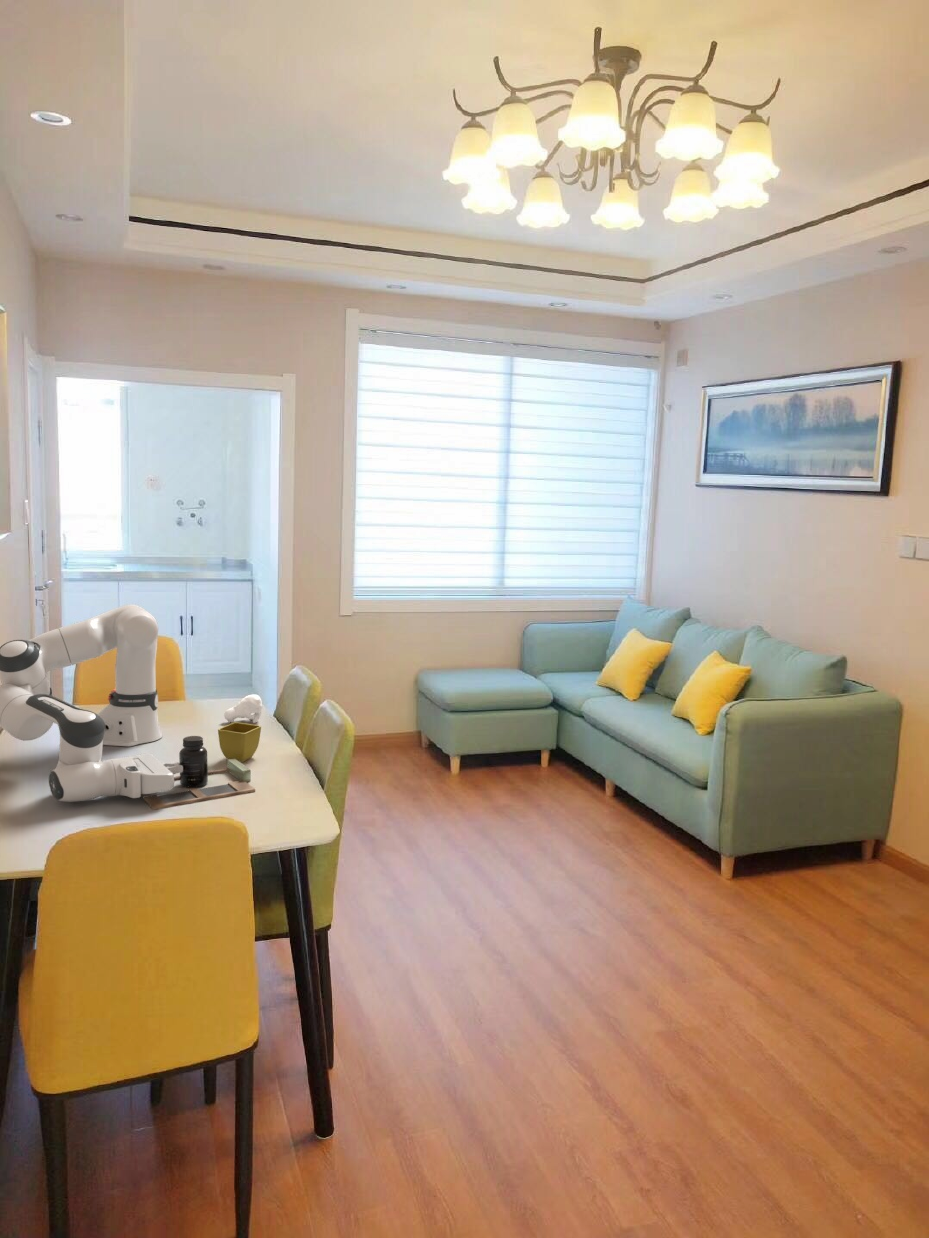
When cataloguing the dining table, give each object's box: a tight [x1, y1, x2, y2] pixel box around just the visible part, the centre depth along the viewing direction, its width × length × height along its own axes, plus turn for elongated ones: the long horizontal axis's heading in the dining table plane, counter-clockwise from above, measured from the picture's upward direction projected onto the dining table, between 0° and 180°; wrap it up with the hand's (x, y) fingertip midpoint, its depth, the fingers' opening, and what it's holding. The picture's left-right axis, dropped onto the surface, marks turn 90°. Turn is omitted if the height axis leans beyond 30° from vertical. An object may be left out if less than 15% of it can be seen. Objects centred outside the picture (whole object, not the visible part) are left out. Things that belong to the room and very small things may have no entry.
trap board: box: [143, 759, 256, 810], centre depth 229 cm, size 27×19×3 cm
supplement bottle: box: [178, 735, 209, 789], centre depth 231 cm, size 7×7×12 cm
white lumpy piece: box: [223, 694, 263, 724], centre depth 291 cm, size 6×8×12 cm
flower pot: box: [217, 721, 262, 763], centre depth 253 cm, size 9×9×9 cm
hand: (181, 767), depth 229 cm, fingers closed
